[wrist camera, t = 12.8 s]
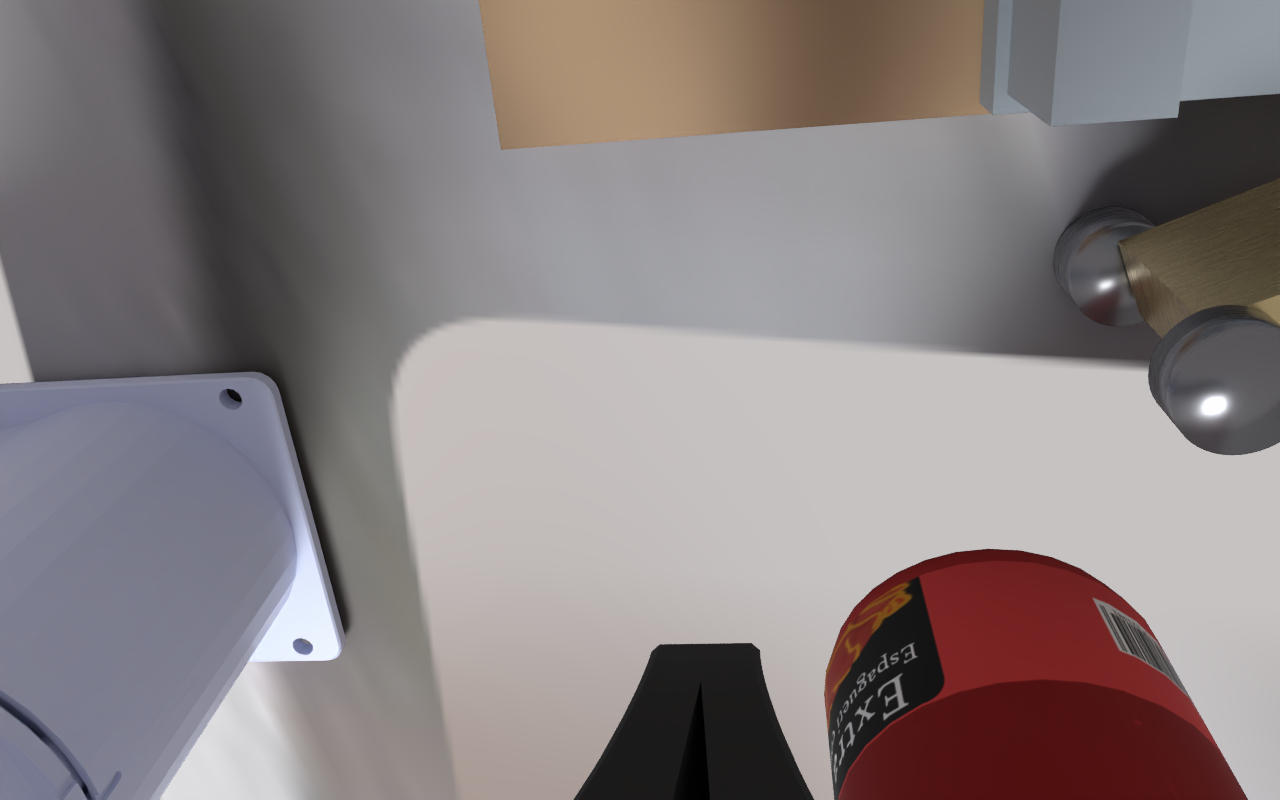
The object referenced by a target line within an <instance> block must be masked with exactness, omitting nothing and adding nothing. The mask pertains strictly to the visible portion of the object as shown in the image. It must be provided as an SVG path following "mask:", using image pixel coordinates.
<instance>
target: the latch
mask: <svg viewBox="0 0 1280 800" xmlns="http://www.w3.org/2000/svg"><path fill="white" fill-rule="evenodd" d="M1118 244H1119V247H1120V250H1121V254H1122V257H1123V260H1124V264H1125V267H1126V270H1127V273H1128V277H1129V280H1130V283H1131V287H1132V290H1133V293H1134V296H1135V300H1136V303H1137V306H1138V310H1139V313H1140V316H1141V317H1142V318H1143V319H1144V320H1145V321H1146V322H1147V323H1148V324H1149V325H1150V326H1151V327H1152V328H1153V329H1154V330H1155V331H1156V332H1157V334H1158V335H1159V336H1160V337H1161V338H1162V340H1161V341H1160V343H1159V344H1158V346H1157V347H1156V349H1155V351H1154V353H1153V356H1152V358H1151V361H1150V366H1149V374H1148V377H1149V386H1150V390H1151V393H1152V395H1153V397H1154V399H1155V400H1156V402H1157V403H1158V405H1159V406H1160V407H1161V408H1162V410H1163V411H1164V412H1165V413H1166V414H1167V416H1168V417H1169V418H1170V419H1171V420H1172V422H1173V423H1174V424H1175V425H1176V427H1177V428H1178V429H1179V430H1180V431H1181V433H1182V434H1183V435H1184V436H1185V437H1186V438H1187V439H1188V440H1189V441H1190V442H1191V443H1193V444H1194V445H1196V446H1197V447H1199V448H1201V449H1204V450H1206V451H1209V452H1212V453H1217V454H1223V455H1242V454H1248V453H1253V452H1257V451H1261V450H1263V449H1266V448H1269V447H1271V446H1273V445H1275V444H1277V443H1279V442H1280V178H1279V179H1276V180H1274V181H1271V182H1269V183H1266V184H1264V185H1261V186H1259V187H1256V188H1253V189H1251V190H1248V191H1246V192H1243V193H1241V194H1238V195H1236V196H1233V197H1230V198H1228V199H1225V200H1223V201H1220V202H1218V203H1215V204H1213V205H1210V206H1207V207H1205V208H1202V209H1200V210H1197V211H1195V212H1192V213H1190V214H1187V215H1184V216H1182V217H1179V218H1177V219H1174V220H1172V221H1169V222H1167V223H1164V224H1161V225H1159V226H1156V227H1154V228H1151V229H1149V230H1146V231H1144V232H1141V233H1138V234H1136V235H1133V236H1131V237H1128V238H1126V239H1123V240H1121V241H1118Z"/></svg>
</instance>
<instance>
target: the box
mask: <svg viewBox="0 0 1280 800" xmlns="http://www.w3.org/2000/svg"><path fill="white" fill-rule="evenodd" d="M984 2H985V0H479V5H480V12H481V18H482V25H483V32H484V39H485V45H486V52H487V59H488V66H489V72H490V79H491V86H492V93H493V99H494V106H495V113H496V119H497V126H498V133H499V140H500V146H501V150H504V149H517V148H531V147H544V146H558V145H571V144H585V143H598V142H612V141H626V140H639V139H653V138H666V137H680V136H693V135H707V134H720V133H734V132H747V131H761V130H774V129H788V128H801V127H815V126H829V125H842V124H856V123H869V122H883V121H896V120H910V119H923V118H937V117H950V116H964V115H977V114H991V113H990V112H989V111H988V110H987V109H985V108H984V107H983V106H982V105H981V104H980V103H979V101H980V81H981V61H982V41H983V21H984Z"/></svg>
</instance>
